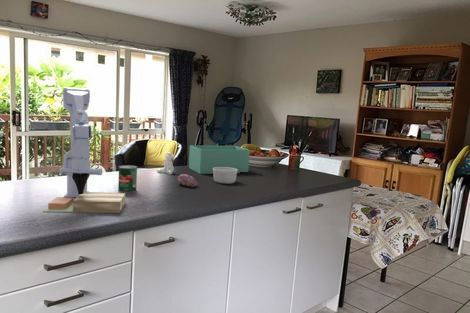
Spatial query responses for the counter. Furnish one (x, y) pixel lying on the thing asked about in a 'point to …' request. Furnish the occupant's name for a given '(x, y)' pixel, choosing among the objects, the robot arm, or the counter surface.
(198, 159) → the box
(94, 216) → the counter surface
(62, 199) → the tile
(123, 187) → the canned tomato
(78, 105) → the robot arm
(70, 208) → the mat
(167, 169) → the seated beast figurine
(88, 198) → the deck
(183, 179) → the pink lumpy figurine
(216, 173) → the ramekin
